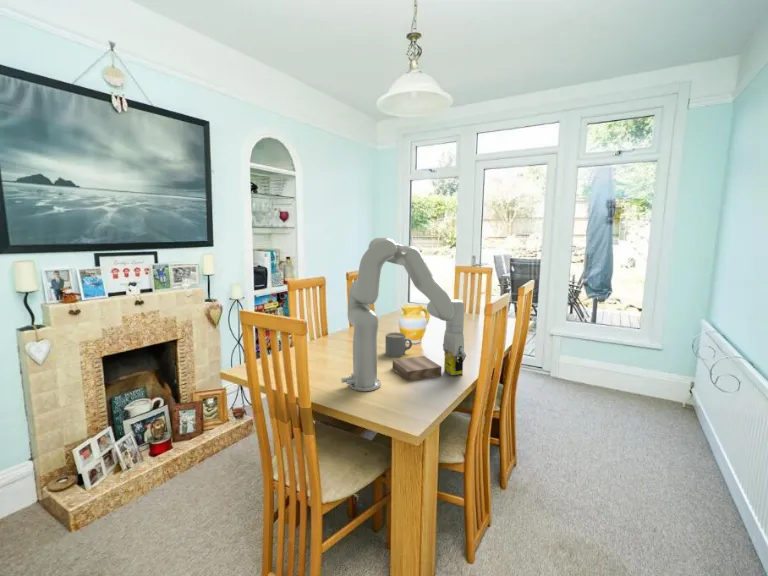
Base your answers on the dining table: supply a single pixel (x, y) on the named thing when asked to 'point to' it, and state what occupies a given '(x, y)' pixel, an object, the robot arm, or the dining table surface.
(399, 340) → the coffee mug
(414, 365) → the walnut base
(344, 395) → the dining table surface
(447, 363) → the supplement box
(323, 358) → the dining table surface
